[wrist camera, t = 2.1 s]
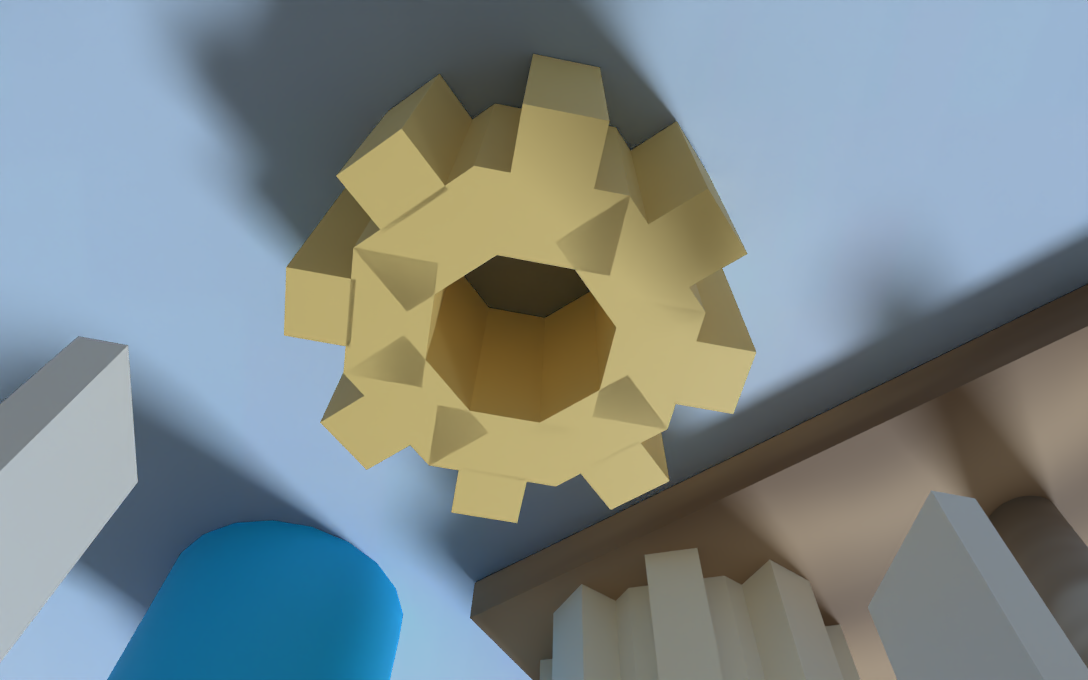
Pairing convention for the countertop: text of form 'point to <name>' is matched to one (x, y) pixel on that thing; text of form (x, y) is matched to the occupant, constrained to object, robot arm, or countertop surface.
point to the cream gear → (698, 629)
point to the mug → (268, 611)
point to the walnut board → (860, 494)
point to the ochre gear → (513, 338)
